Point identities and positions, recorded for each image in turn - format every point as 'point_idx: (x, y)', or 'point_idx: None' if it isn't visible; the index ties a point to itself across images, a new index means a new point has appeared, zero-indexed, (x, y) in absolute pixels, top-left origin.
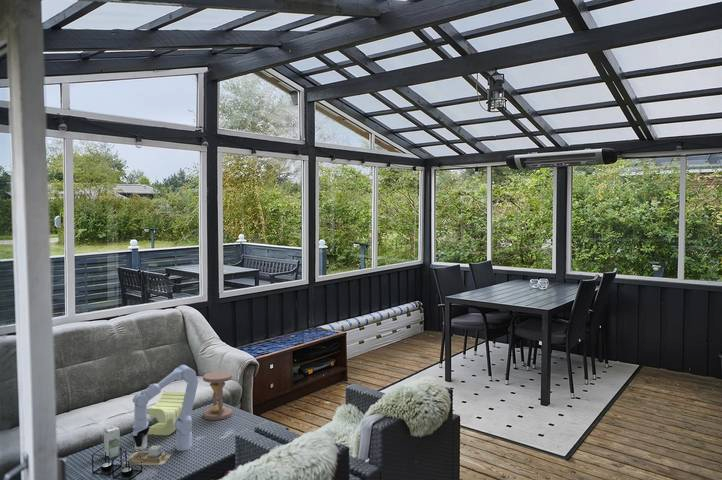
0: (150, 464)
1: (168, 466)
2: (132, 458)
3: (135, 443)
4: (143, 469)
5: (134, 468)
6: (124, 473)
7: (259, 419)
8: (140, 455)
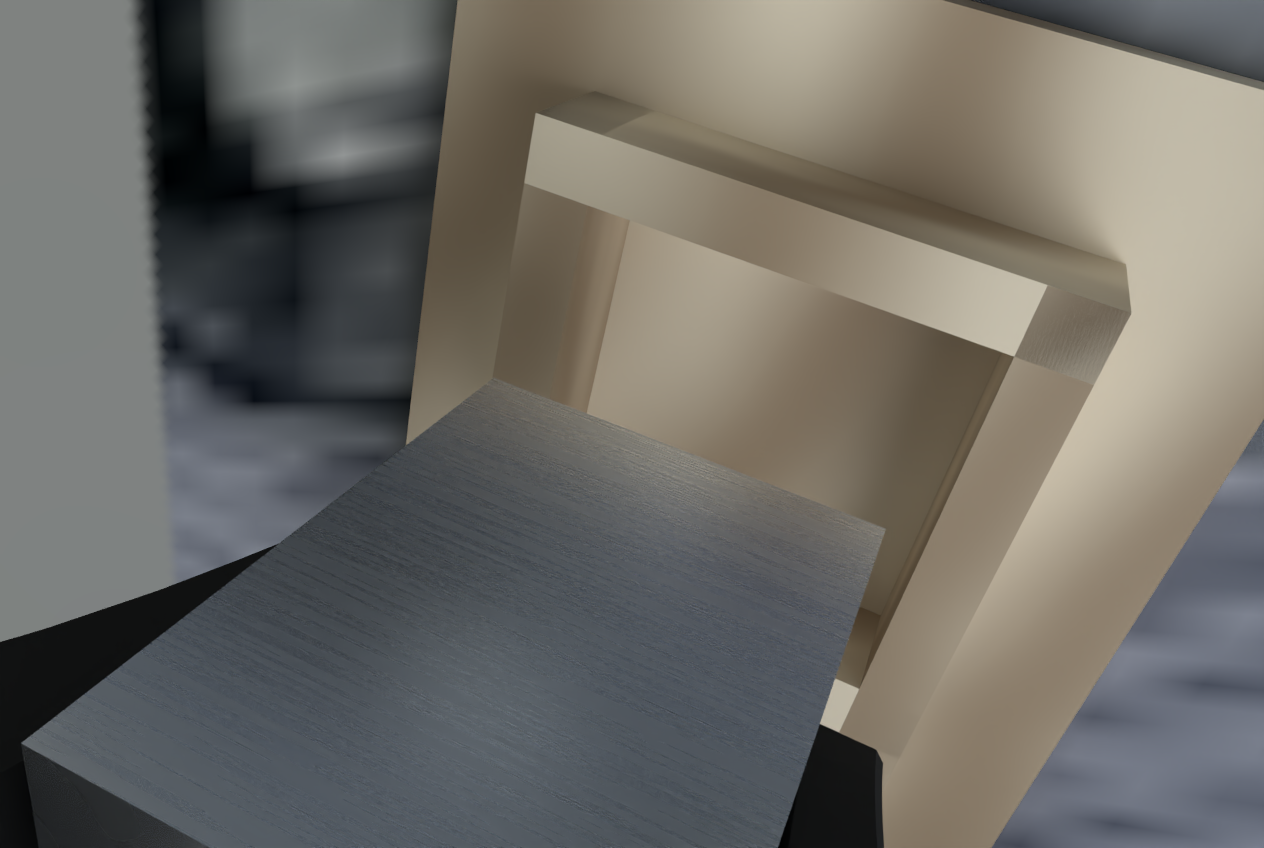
0: None
1: None
2: (526, 207)
3: (326, 545)
4: (314, 432)
5: (365, 242)
6: (136, 34)
7: None
8: (986, 395)
